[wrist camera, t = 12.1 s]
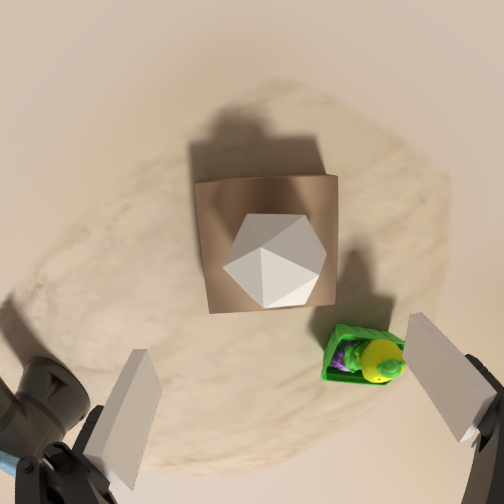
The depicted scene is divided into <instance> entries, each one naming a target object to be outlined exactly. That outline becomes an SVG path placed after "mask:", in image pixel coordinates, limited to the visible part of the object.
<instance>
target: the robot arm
mask: <svg viewBox="0 0 504 504" xmlns="http://www.w3.org/2000/svg"><path fill="white" fill-rule="evenodd" d="M402 358H403V359H404V361H405V362H406V364H407V365H408V366H409V368H410V369H411V371H412V372H413V374H414V375H415V377H416V378H417V379H418V381H419V382H420V384H421V385H422V387H423V388H424V390H425V391H426V393H427V394H428V396H429V397H430V399H431V400H432V402H433V403H434V405H435V406H436V408H437V409H438V411H439V413H440V414H441V415H442V417H443V419H444V420H445V422H446V423H447V425H448V427H449V428H450V430H451V431H452V433H453V435H454V436H455V438H456V439H457V441H458V443H460V442H462V441H464V440H466V439H468V438H470V437H472V435H473V434H474V432H475V431H476V429H477V428H478V429H479V431H480V433H479V435H478V436H477V438H476V439H475V441H474V442H473V444H472V446H471V447H474V445H475V444H476V443H477V444H476V449H475V454H474V459H473V464H472V468H471V472H470V476H469V479H468V483H467V487H466V490H465V493H464V496H463V500H462V503H461V504H504V387H503V386H502V385H501V384H500V382H499V381H498V380H497V379H496V378H495V377H494V376H493V375H492V374H491V373H490V372H488V369H487V368H486V367H485V366H483V364H482V363H481V362H480V361H479V360H478V359H477V358H475V357H474V356H472V355H470V354H467V355H465V356H464V355H463V354H462V353H461V352H460V351H459V350H458V349H457V348H456V346H455V345H454V344H453V343H452V342H451V341H450V340H449V339H448V338H447V337H446V336H445V335H444V334H443V333H442V332H441V331H440V330H439V329H438V328H437V327H436V326H435V325H434V324H433V323H432V322H431V321H430V320H429V319H428V318H427V317H426V316H425V315H424V314H423V313H422V312H420V313H416V314H412V315H410V316H409V322H408V328H407V334H406V340H405V345H404V350H403V355H402ZM161 392H162V387H161V384H160V382H159V380H158V377H157V375H156V372H155V370H154V367H153V364H152V362H151V359H150V356H149V354H148V351H147V349H133V351H132V353H131V355H130V357H129V358H128V360H127V362H126V364H125V366H124V368H123V370H122V372H121V374H120V376H119V378H118V380H117V382H116V384H115V386H114V388H113V390H112V392H111V394H110V396H109V398H108V400H107V402H106V404H105V406H101V405H97V406H96V407H95V408H94V409H93V410H92V411H91V412H90V413H89V415H88V417H87V419H86V423H84V425H83V427H82V429H81V431H80V433H79V435H78V437H77V439H76V441H75V444H74V446H73V448H72V450H71V449H70V448H69V447H68V446H67V445H66V444H65V443H63V442H62V440H63V438H64V436H65V435H66V433H67V432H68V431H69V430H70V429H71V428H73V427H74V426H75V425H76V424H77V423H78V422H79V421H81V420H83V419H84V418H85V417H86V415H87V413H88V411H89V409H90V400H89V397H88V395H87V393H86V391H85V390H84V388H83V387H82V385H81V384H80V383H79V382H78V381H77V380H76V378H75V377H74V376H73V375H71V374H70V373H69V372H68V371H67V370H66V369H64V368H63V367H62V366H60V365H59V364H57V363H55V362H53V361H51V360H49V359H47V358H43V357H34V358H32V359H31V360H30V361H29V362H28V364H27V365H26V366H25V368H24V371H23V375H22V377H21V380H20V383H19V387H18V390H17V392H16V393H15V395H14V394H13V393H12V392H11V390H10V389H9V388H8V386H7V385H6V384H5V382H4V381H3V380H2V378H1V377H0V468H1V469H2V470H3V471H5V472H6V473H8V474H9V475H11V476H13V477H14V478H15V504H117V502H116V500H115V498H114V497H113V495H112V493H111V491H110V490H109V489H108V488H109V485H110V483H111V484H112V485H113V486H114V487H115V488H116V489H120V490H125V491H130V492H133V489H134V486H135V481H136V478H137V474H138V471H139V467H140V463H141V460H142V456H143V452H144V449H145V445H146V442H147V438H148V435H149V432H150V428H151V425H152V421H153V418H154V415H155V412H156V408H157V405H158V402H159V399H160V395H161Z"/></svg>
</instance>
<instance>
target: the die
mask: <svg viewBox="0 0 504 504" xmlns="http://www.w3.org/2000/svg"><path fill="white" fill-rule="evenodd" d="M326 255H327V253H326V251H325V249H324V247H323V245H322V244H321V242H320V240H319V238H318V237H317V235H316V233H315V231H314V229H313V228H312V226H311V224H310V222H309V221H308V219H307V217H306V215H291V214H247V215H246V217H245V219H244V221H243V223H242V225H241V228H240V230H239V232H238V234H237V236H236V238H235V240H234V243H233V245H232V247H231V249H230V251H229V253H228V256H227V258H226V260H225V262H224V264H223V267H222V268H223V269H224V270H225V271H226V272H227V273H228V274H229V275H230V276H231V277H232V278H233V279H234V280H235V281H236V282H237V283H238V284H239V285H240V286H241V287H242V288H243V289H244V290H245V291H246V292H247V293H248V294H249V295H250V296H251V297H252V298H253V299H254V300H255V301H256V302H257V303H258V304H259V305H260V306H262V307H263V308H273V307H284V306H293V305H303V304H305V303H306V301H307V299H308V297H309V295H310V293H311V291H312V289H313V287H314V285H315V283H316V281H317V279H318V277H319V275H320V272H321V269H322V267H323V264H324V261H325V258H326Z"/></svg>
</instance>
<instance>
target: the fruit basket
mask: <svg viewBox="0 0 504 504" xmlns="http://www.w3.org/2000/svg"><path fill="white" fill-rule="evenodd" d="M404 345H405V341H403V340H401V339H399V338H398V337H396V336H395V335H393V334H391V333H390V332H388V331H377V330H375V329H370V328H365V329H364V328H362V327H358V326H348V325H347V324H342V323H337V324H336V326H335V330H334V332H333V333H332V335H331V337H330V339H329V341H328V345H327V347H326V349H325V350H324V358H323V369H322V373H321V378H322V380H324V381H333V382H344V383H356V384H368V385H387V384H389V383H390V382H391V380H392V379H393V378H396V377H397V376H399V375H400V374H402V372H403V371H404V369H405V366H406V362H405V361H404V359H403V358H402V355H403V350H404Z"/></svg>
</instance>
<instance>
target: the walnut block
mask: <svg viewBox="0 0 504 504" xmlns="http://www.w3.org/2000/svg"><path fill="white" fill-rule="evenodd" d="M194 186H195V197H196V208H197V217H198V227H199V236H200V245H201V253H202V261H203V269H204V277H205V285H206V292H207V299H208V306H209V313H210V314H213V313H233V312H250V311H265V310H279V309H291V308H302V307H313V306H323V305H333V304H335V300H336V283H337V260H338V176H335V175H329V174H302V175H276V176H257V177H241V178H228V179H216V180H205V181H200V182H197V183H195V184H194ZM247 214H291V215H306V217H307V219H308V221H309V222H310V224H311V226H312V228H313V229H314V231H315V233H316V235H317V237H318V238H319V240H320V242H321V244H322V245H323V247H324V249H325V251H326V253H327V255H326V258H325V261H324V264H323V267H322V269H321V272H320V275H319V277H318V279H317V281H316V283H315V285H314V287H313V289H312V291H311V293H310V295H309V297H308V299H307V301H306V303H305V304H303V305H293V306H284V307H273V308H263V307H262V306H260V305H259V304H258V303H257V302H256V301H255V300H254V299H253V298H252V297H251V296H250V295H249V294H248V293H247V292H246V291H245V290H244V289H243V288H242V287H241V286H240V285H239V284H238V283H237V282H236V281H235V280H234V279H233V278H232V277H231V276H230V275H229V274H228V273H227V272H226V271H225V270H224V269H223V268H222V267H223V264H224V262H225V260H226V258H227V256H228V253H229V251H230V249H231V247H232V245H233V243H234V240H235V238H236V236H237V234H238V232H239V230H240V228H241V225H242V223H243V221H244V219H245V217H246V215H247Z"/></svg>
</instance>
